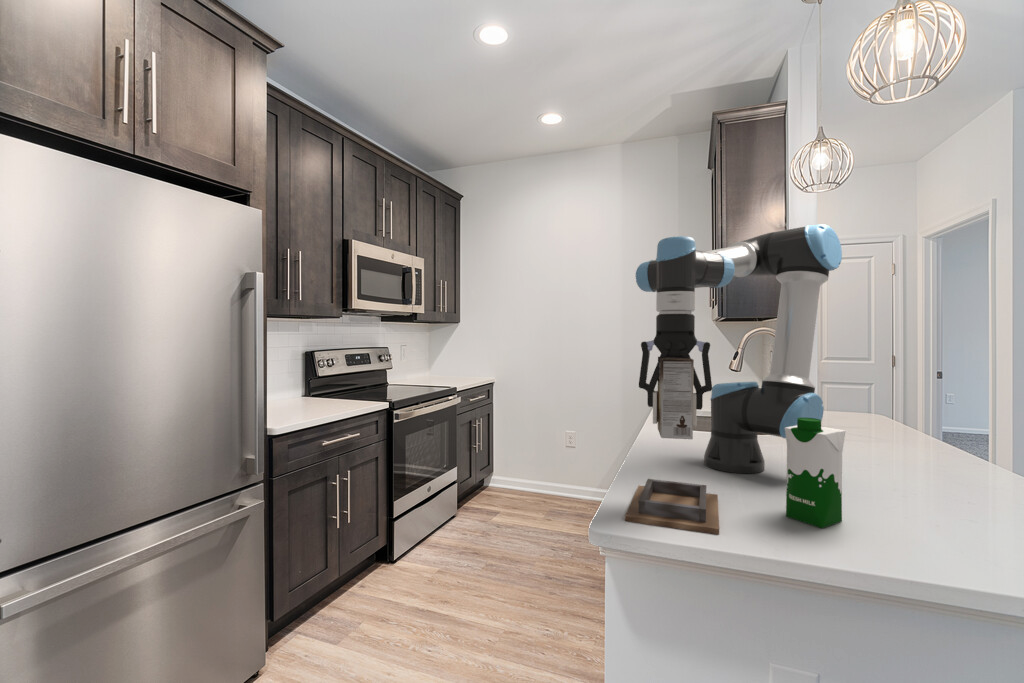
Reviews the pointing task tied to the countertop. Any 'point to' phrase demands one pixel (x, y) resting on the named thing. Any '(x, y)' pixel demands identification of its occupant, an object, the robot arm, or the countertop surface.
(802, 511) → the milk carton
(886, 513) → the countertop surface
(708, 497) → the pocket board
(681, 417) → the coffee box
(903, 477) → the countertop surface
